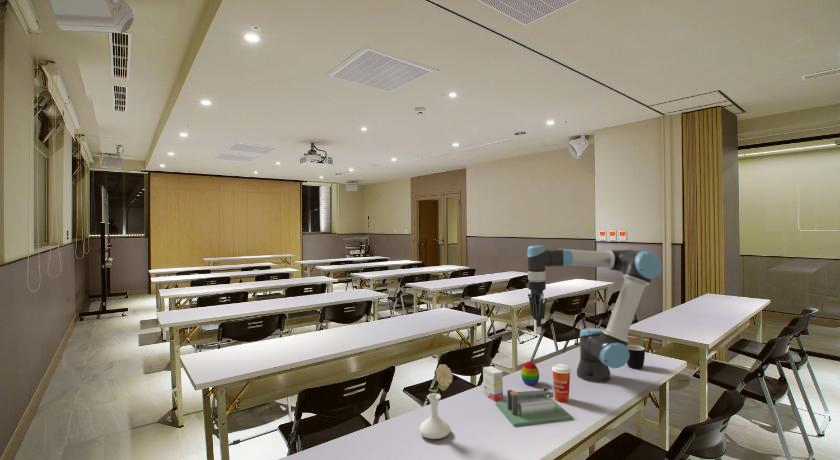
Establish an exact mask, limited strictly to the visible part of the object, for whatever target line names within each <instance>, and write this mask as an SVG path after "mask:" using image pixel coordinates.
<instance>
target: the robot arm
mask: <svg viewBox="0 0 840 460" xmlns="http://www.w3.org/2000/svg"><path fill="white" fill-rule="evenodd" d="M526 254H527V255H526V256H527V257H526V259H527V280H528V281H527V288H528V290H530V293H528V294H527V296H528V297H527V298H528V300H529V311H530V315H531V317H532V318H533V332H534V333H533V334H534V335H541V334H542V320H543V319H545V314H546V313H545V311H546V305H547V301H548V300H547V298H545V297H544V291H545V290H547V289H546V287H547V285H546V284H547V282H546V279H547V278H546V274H547V273H546V268H548V267H549V268H550V267H570V266H581V267H594V268H605V269H606V270H608V271H616V272H620V273H622V274H621V275H622V277H623V283H622V285H621V288H620V291H619V294H618V297H617V299H616V301H615V305H614V306H613V310H612V311H611V315H610V318H609V321H608V323H607V326H606V328H604V329H603V328H595V327H594V328H592V327H589V328H588V327H587V328H582V329H580V331H579V351H580V352H579V355H580V356H579V358H580V359H579V362H578V365H577V368H576V376H577V377H578V378H580V379H581V380H584V381H587V382H594V383H605V382H609V381H610V380H611V378H612V376H611V375H612V374H611V371H610V368H611V369H618V368H621V367H623V366H625V365H627V361H628V360H629V355H630V354H629V350H628V348H627V345H629V340H628V334H629V331H630V328H631V325H632V323H633V320H634V318H635V314H636V311H637V309H638V307H639V304H640V302H641V298H642V295H643V292H644V290H645V288H646V287H647V286H649V285H651V283H652V279H655V278H657V277H658V276H660V274H661V272H662V268H663V266H662V265H663V264H662V262H661V260H660V257H659V256H658V255H656V254H655V253H654V252H652V251H647V250H636V249H616V250H615V249H611V250H610V249H608V250H606V251H600V250H599V251H598V250H584V249H572V248H571V249H570V248H554V247H545V246H544V245H529V246H528V247H527V253H526Z"/></svg>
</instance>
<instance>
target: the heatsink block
mask: <svg viewBox="0 0 840 460" xmlns="http://www.w3.org/2000/svg"><path fill="white" fill-rule="evenodd" d="M546 389H547V390H548V391H549V389H548V387H542V390H546ZM553 398H554V391H549V395H544V396H530V397H517V402H518V414H519V415H520V416H521V417H527V416H535V415H543V414H551V413H555V403H554V401H555V398H554V399H553Z"/></svg>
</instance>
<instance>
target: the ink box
mask: <svg viewBox="0 0 840 460" xmlns="http://www.w3.org/2000/svg"><path fill="white" fill-rule="evenodd" d="M482 377H483V378H482V381H483V384H482V385H483V387H482V388H483V394H484V395H485V396H486V397H487V398H489V399H490V400H492V401H494V402H495V401H496V402H497V401H499V400H503V399H504V388H503V387H504V385H503V383H504V381H503V380H504V379H503V377H504V376H503V372H502V371H501V370H499V369H497V368H496V367H494V366H492V365H489V366H484V367H482Z"/></svg>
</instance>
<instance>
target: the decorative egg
mask: <svg viewBox="0 0 840 460" xmlns="http://www.w3.org/2000/svg"><path fill="white" fill-rule="evenodd" d="M539 371H540V370H539V368H538V367H537V365H536V364H535V363H534V362H533V361H528V362H526V363H525V364H523V366H522V368H521V374H520V376H521V379H522V381H523V383H524V384H525V385H527V386H536V385H537V384H538V382H539V380H540V372H539Z"/></svg>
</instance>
